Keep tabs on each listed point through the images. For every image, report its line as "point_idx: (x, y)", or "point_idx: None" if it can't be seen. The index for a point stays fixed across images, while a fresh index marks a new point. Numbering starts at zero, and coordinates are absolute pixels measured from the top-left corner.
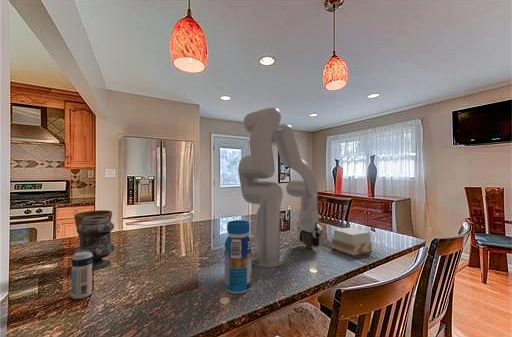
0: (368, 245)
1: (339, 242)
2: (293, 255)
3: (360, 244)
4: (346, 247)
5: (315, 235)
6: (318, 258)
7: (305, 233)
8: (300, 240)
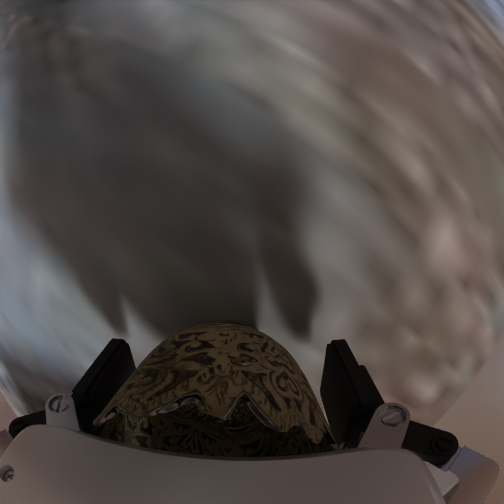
0: None
1: None
2: (112, 86)
3: None
4: None
5: (47, 417)
6: (15, 236)
7: (129, 402)
8: (335, 346)
